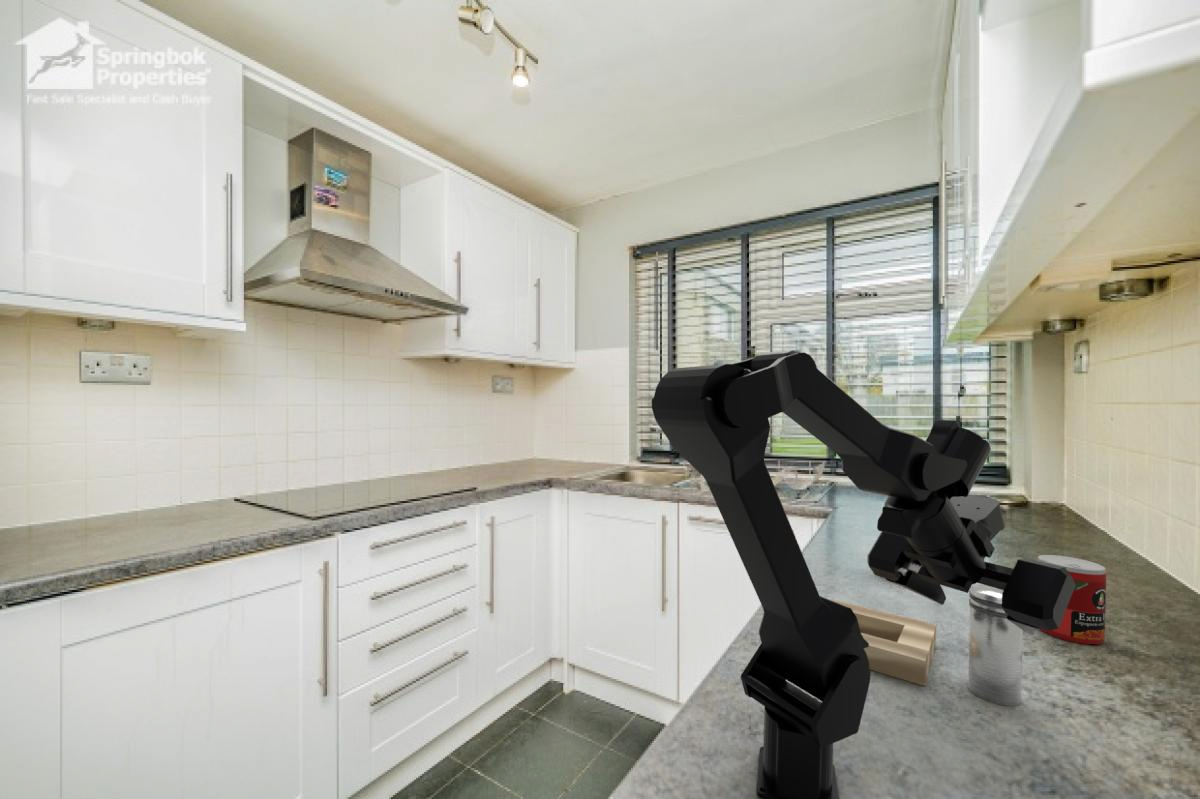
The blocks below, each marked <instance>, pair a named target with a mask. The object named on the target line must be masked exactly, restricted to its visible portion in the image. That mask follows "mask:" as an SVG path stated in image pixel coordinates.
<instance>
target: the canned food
mask: <svg viewBox="0 0 1200 799" xmlns="http://www.w3.org/2000/svg"><path fill="white" fill-rule="evenodd" d="M1036 561H1039V562H1044V563H1048V564H1053V565H1057V566H1061V567H1065V568H1066V570H1067V571H1068V572H1069V573H1070V575H1071V576H1072V578H1073V580H1074V582H1075V584H1076V586H1075V588H1074V591H1073V593H1072V596H1071V598H1070V601H1069V603H1068V606H1067V608H1066V611H1065V613H1064V616H1063V618H1062V621H1061V623H1060V626H1059V628H1058V629H1055V630H1051V631H1047V630H1044V629H1040V631H1042V632H1044V633H1046V634H1047V635H1049V636H1051V637H1055V638H1056V639H1059V640H1064V641H1066V640H1067V641H1066V642H1070V641H1071V643H1074V642H1076V643H1075V644H1079V643H1081V644H1080V645H1086V644H1096V645H1095V646H1097V644H1098V645H1101V644H1103V642H1104V640H1105V638H1106V609H1107V608H1106V606H1107V605H1106V604H1107V603H1106V600H1107V571H1106V567H1105V566H1103V565H1101V564H1099V563H1096V562H1094V561H1089V560H1086V559H1081V558H1077V557H1072V556H1064V555H1057V554H1056V555H1055V554H1040V555H1038V556H1037V560H1036Z"/></svg>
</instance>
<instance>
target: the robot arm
mask: <svg viewBox="0 0 1200 799" xmlns="http://www.w3.org/2000/svg"><path fill="white" fill-rule="evenodd" d="M653 395H654V396H653V397H652V399H651V410H652V414H653V416H654V420H655V421H656V423H657V425H658V427H659V428H660V430H661V431H662V432H663V434H664V436H665V437H666V438H667V439H668V441H669V443H670V444H671V446H672V447H673V448H674V450H675V451H676V452H677V453H678V454H679V455H680V456H682V458H684V459H685V461H686V462H687V463H689V464H690V465H691V467H692V468H694V469H695V470H696V471H697V472H698V473H699V474H700V475H702V477H703V478H704V480H705V481H706V484H707V486H708V488H709V490H710V493H711V494H712V498H713V499H714V502H715V504H716V506H717V509H718V511H719V513H720V514H721V517H722V520H723V522H724V524H725V526H726V528H727V531H728V532H729V535H730V537H731V539H732V540H731V541H732V542H733V544H734V546H735V550H736V551H737V553H738V556H739V558H740V560H741V562H742V564H743V567H744V569H745V571H746V574H747V576H748V577H749V580H750V583H751V584H752V587H753V589H754V591H755V595H757V598H758V600H759V602H760V604H761V607H762V609H763V614H762V617H761V618H762V619H761V622H760V625H759V628H758V635H759V638H760V641H761V643H760V645H759V646H758V648H757V650H756V651H755V652H754V654H753V656H752V657H751V659H750V660H749V662H748V664H747V665H746V666H745V668H744V669H743V671H742V673H741V676H740V679H741V680H740V681H741V684H742V688H743V691H744V695H746V696H747V697H749V698H752V699H753V700H755V701H756V702H757V703H759V704H760V705H761V706H763V707H764V711H763V713H764V715H763V716H764V717H763V745H762V746H760V748H759V753H758V767H757V777H756V796H757V797H758V798H760V799H840V797H839V791H838V790H839V789H838V782H837V776H836V768H835V765H834V743H835V744H836V743H837V742H839V741H841V740H845V739H847V738H849V737H851V736H853V735H856V734H858V733H859V730H860V726H861V720H862V716H863V714H864V713H863V712H864V709H865V704H866V701H867V697H868V696H867V695H868V691H869V687H870V682H871V670H870V669H869V661H868V657H867V654H866V651H865V649H864V648H867V647H868V646H869V643H868V642H867V641H866V640H865V639H864V638H863V636H862V634H861V632H860V628H859V624H858V620H857V617H856V615H855V614H854V612H853V611H852V609H851V608H849V607H846V606H844V605H841V604H839V603H836V602H834V601H831V600H832V599H828V598H825V597H823V596H820V594H819V591H818V589H817V586H816V584H815V581H814V579H813V576H812V573H811V572H810V569H809V567H808V563H807V561H806V560H805V557H804V554H803V552H802V549H801V546H800V544H799V543H798V540H797V538H796V535H795V533H794V530H793V528H792V526H791V524H790V521H789V518H788V515H787V513H786V511H785V508H784V506H783V504H782V501H781V499H780V496H779V494H778V492H777V489H776V486H775V484H774V481H773V479H772V476H771V474H770V472H769V470H768V467H767V465H766V462H765V453H766V449H767V444H768V440H769V435H770V431H771V425H770V421H769V418H771V417H774V416H776V415H778V414H781V413H783V414H784V415H786V416H787V417H788V418H790V419H791V420H792V421H794V422H795V423H796V424H798V425H799V426H800V427H801V428H803V429H804V430H805V431H807V432H808V433H809V434H811V435H812V436H813V437H814V438H815V439H817V440H818V441H819V442H821V443H822V444H824V445H825V446H826V447H827V448H829V449H830V450H831V451H832V452H834V453H835V454H836V455H837V456H838V457H839V458H840V459H841V470H842V472H843V473H844V474H845V475H846V477H848V479H849V480H850V481H851V482H852V483H853V485H855V486H856V488H857V489H859V490H860V491H863V492H865V493H870V494H877V495H882V496H887V499H886V500H885V502H884V506H883V507H882V509H881V511H882V512H881V514H880V516H879V517H878V519H877V526H876V529H877V531H879V532H880V533H879V535H878V536H877V538H876V540H875V542H874V543H873V546H872V547H871V549H870V551H869V552H868V554H867V556H866V557H867V565H868V567H869V569H870V570H871V571H872V572H873V574H874V575H875V576H877V577H880V578H883V579H885V580H886V581H887V582H890V583H893V584H895V585H898V586H900V587H902V588H903V589H906V590H909V591H911V592H913V593H915V594H918V595H919V596H921V597H923V598H926V599H928V600H931V601H933V602H935V603H937V604H939V605H942V606H943V605H944V604H945V602H946V600H947V596H946V594H945V591H944V589H943V588H942V586H944V587H945V588H946V587H947V588H950V589H953V590H957V591H959V592H964V593H966V594H969V591H970V588H971V586H973V585H977V584H979V585H987V586H990V587H994V588H997V589H1001V590H1004V591H1003V593H1002V608H1003V610H1004V612H1005V613H1006V614H1007V615H1008V616H1007V619H1008V620H1009V621H1010V622H1012V623H1013V624H1015V625H1016V626H1018V627H1019V628H1020V629H1022V630H1023V632H1025V633H1027V634H1029V635H1031V636H1034V634H1035V632H1036V631H1037V630H1041V629H1044V630H1047V631H1051V630H1055V629H1058V628H1059V626H1060V623H1061V621H1062V618H1063V616H1064V613H1065V611H1066V608H1067V606H1068V603H1069V601H1070V598H1071V596H1072V593H1073V591H1074V588H1075V586H1076V584H1075V582H1074V580H1073V578H1072V576H1071V575H1070V573H1069V572H1068V571H1067V570H1066V568H1065V567H1061V566H1057V565H1053V564H1048V563H1044V562H1039V561H1037V560H1035V559H1030V558H1026V557H1022V558H1017V561H1016V563H1015V565H1014V567H1008V566H1004V565H1001V564H996V563H992V562H989V561H985V559H986V558H988V559H990V558H991V557H992V556H993V554H994V552H995V546H994V545H993V543H992V540H994V539H995V537H996V536H997V535H998V534H999V533H1000V532H1001V531H1003V530H1004V529H1005V526H1006V525H1005V521H1004V518H1003V517H1004V516H1003V513H1002V510H1001V504H1000V501H999V500H997V499H995V498H988V497H984V496H983V497H982V496H976V495H971V494H970V492H971V489H972V488H973V486H974V484H975V482H976V480H977V479H978V476H979V475H980V473H981V471H982V469H983V468H984V465H985V463H986V462H987V459H988V458H989V456H990V454H991V445H990V443H989V441H987V440H986V439H984V438H983V437H981V436H980V435H979V434H977V433H976V432H974V431H972V430H969V429H967V428H964V427H961V426H960V424H958V421H957V420H955V419H953V420H952V419H936V420H935V422H934V423H933V425H932V427H931V428H930V432H929V434H928V436H927V438H926V439H923V438H921V437H919V436H917V435H915V434H914V433H910V432H906V431H904V430H899V429H896V428H893V427H890V426H888V425H885V424H884V423H882V422H881V421H880V420H878V419H877V418H876V417H875V416H874V415H873V414H871V412H869V411H868V410H867V409H866V408H865V407H863V406H862V405H861V404H859V403H858V402H857V401H856V400H855V399H854V398H853V397H851V395H849V394H848V393H847V392H846V391H845V390H844V389H842V388H841V387H840V386H839V385H837V384H836V383H835V382H834V381H833V380H831V378H829V376H827V375H826V374H825V373H824V372H822V371H821V369H819V368H818V367H817V364H816V361H815V360H814V358H813V357H812V356H811V354H809V353H806V352H803V351H801V350H798V349H797V350H796V349H792V350H791V349H789V350H779V351H772V352H770V351H769V352H761V353H759V354H757V355H755V356H754V357H751V358H748V359H745V360H741V361H738V362H734V363H725V364H724V363H722V364H711V365H709V364H708V365H702V366H701V365H700V366H699V365H698V366H697V365H696V366H689V367H686V366H685V367H676V368H674V369H672V370H669V371H667V372H666V373H665V374H664V375H663V376H662V377H661V378H660V380H659V381H658V383H657V385H656V388H655V390H654V394H653ZM969 494H970V495H969Z"/></svg>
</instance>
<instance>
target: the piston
mask: <svg viewBox="0 0 1200 799" xmlns="http://www.w3.org/2000/svg"><path fill="white" fill-rule="evenodd" d="M1003 591H1004V590H1001V589H997V588H994V587H990V586H987V585H983V584H973V585H971V588H970V590H969V592H968V596H969V599H968V605H969V633H968V634H969V635H968V636H969V637H968V639H969V640H968V678H967V679H968V680H967V684H968V685H967V687H968V689H969V691H970V692H971V693H972V694H974V695H975V696H977V697H979V698H981V699H983V700H985V701H988V702H990V703H994V704H997V705H1001V706H1006V707H1008V706H1009V707H1015V706H1020V704H1022V682H1023V680H1022V679H1023V640H1024V638H1023V637H1024V636H1023V635H1024V634H1023V633H1024V631H1023V630H1022V629H1020V628H1019V627H1018V626H1016V625H1015V624H1013V623H1012V622H1010V621H1009V620H1008V619H1007V616H1008V615H1007V614H1006V613H1005V612H1004V610H1003V608H1002V593H1003Z"/></svg>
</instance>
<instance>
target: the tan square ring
mask: <svg viewBox="0 0 1200 799" xmlns="http://www.w3.org/2000/svg"><path fill="white" fill-rule="evenodd" d="M830 600H831V601H834V602H836V603H839V604H841V605H844V606H846V607H849V608H851V609H852V611H853V612H854V614H855V615H856V617H857V620H858V624H859V628H860V632H861V634H862V636H863V638H864V639H865V640H866V641H867V642H868V643H869V646H868V647H867V648H864V649H865V651H866V654H867V657H868V661H869V669H870V671H874V672H878V673H880V674H885V675H887V676H891V677H894V678H896V679H897V678H898V679H901V680H905V681H906V682H910V683H914V684H917V685H921V686H924V687H926V684H927V681H928V676H929V673H930V669H931V665H932V662H933V659H934V654H935V652H936V648H937V628H938V627H937V626H938V625H937V624H935V623H933V622H928V621H923V620H919V619H915V618H911V617H907V616H903V615H899V614H894V613H891V612H886V611H882V610H877V609H874V608H871V607H870V608H869V607H865V606H861V605H856V604H853V603H848V602H844V601H840V600H835V599H830Z"/></svg>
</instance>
